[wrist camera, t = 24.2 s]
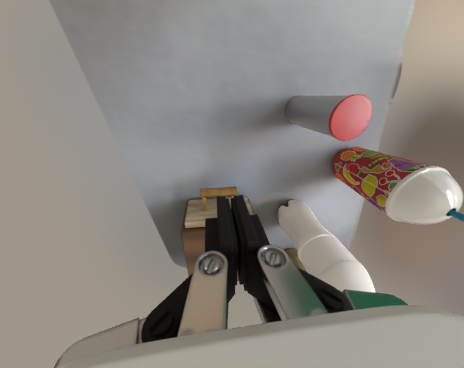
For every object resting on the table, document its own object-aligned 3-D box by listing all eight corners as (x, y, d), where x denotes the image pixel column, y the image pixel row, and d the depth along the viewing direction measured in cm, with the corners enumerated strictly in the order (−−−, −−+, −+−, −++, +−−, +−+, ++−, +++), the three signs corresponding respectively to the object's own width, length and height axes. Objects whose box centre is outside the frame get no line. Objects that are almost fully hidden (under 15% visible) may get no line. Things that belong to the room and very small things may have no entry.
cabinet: (186, 202, 35) (180, 232, 27) (248, 198, 36) (259, 225, 28) (193, 251, 41) (190, 286, 33) (245, 245, 42) (254, 278, 35)
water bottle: (272, 223, 40) (352, 380, 18) (276, 197, 37) (380, 349, 15) (301, 221, 41) (412, 369, 19) (308, 195, 38) (451, 336, 16)
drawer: (186, 180, 31) (181, 200, 25) (247, 177, 33) (256, 195, 27) (194, 246, 39) (192, 274, 33) (244, 242, 40) (251, 267, 34)
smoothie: (370, 139, 33) (553, 188, 16) (358, 178, 37) (494, 252, 20) (330, 142, 33) (474, 198, 15) (321, 182, 37) (429, 262, 19)
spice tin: (286, 95, 28) (337, 94, 17) (313, 95, 28) (379, 94, 18) (282, 124, 30) (326, 141, 19) (307, 124, 31) (363, 140, 20)
